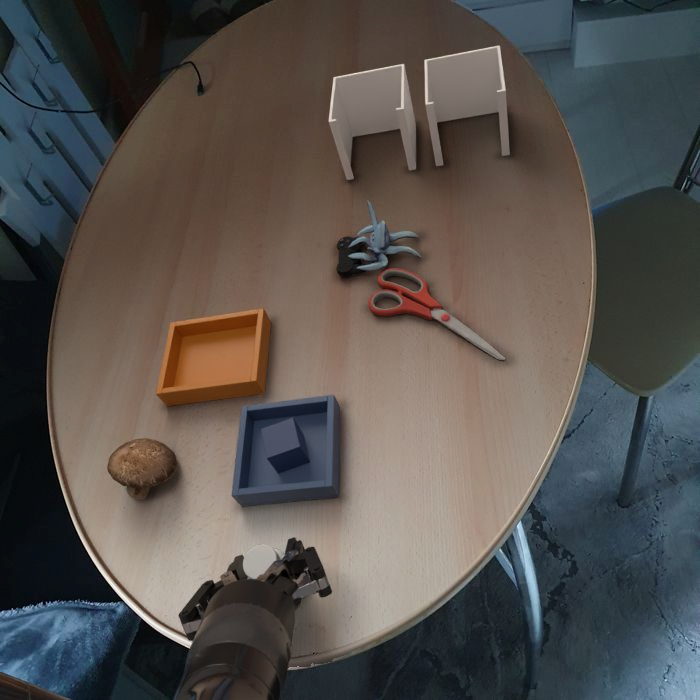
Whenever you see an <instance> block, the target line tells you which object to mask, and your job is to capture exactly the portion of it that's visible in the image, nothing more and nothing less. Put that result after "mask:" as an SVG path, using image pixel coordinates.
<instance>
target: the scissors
mask: <svg viewBox="0 0 700 700" xmlns="http://www.w3.org/2000/svg"><path fill="white" fill-rule="evenodd" d="M392 276H394V277H395V276H397V277H402V278H405V279H409V280H411V281H412V282H414V283H416V284H418V285H419V286H420V288H419V290H416V291H413V290H411V289H409V288H407V287H405V286H403V285H401V284H398V283H395V282H392V281H387V280H386V279H388V278H389V277H392ZM377 283H378V285H379V286H380V287H381V288H382V289H380V290H377V291H376V292H374V293H373V294H372V295H371V296H370V298H369V299H368V309H369V311H370V312H371V313H372V314H374V315H375V316H379V317H392V316H397V315H401V314H411V315H414V316H417V317H420V318H423V319H426V320H429V321H433V320H435V321H436V322H438V323H439V324H441V325H443V326H444V327H446V328H447V329H448V330H450V331H451V332H453V333H455V334H456V335H458V336H459V337H461V338H462V339H464V340H465V341H467V342H469V343H470V344H472V345H473V346H475V347H476V348H479V350H481V351H483V352H484V353H486V354H488V355H489V356H491V357H493V358H494V359H495V360H498V361H506V357H505V356H504V355H502V354H501V353H500V352H499V351H498V350H496V349H495V347H493V346H492V345H491V344H489V342H487V341H486V340H485V339H484V338H482V337H481V336H480V335H478V334H477V333H476V332H475V331H473V330H472V329H471V328H469V327H468V326H467V325H465V324H464V323H462V322H461V321H460V320H459V319H458V318H456V317H455V316H453V315H452V314H451V313H449V312H448V311H446V310H444V309H443V305H441V304H440V303H439V302H438V301H436V300H435V299H434V298H433V297H432V296H431V295H430V292H429V286H428V283H427V282H426V280H425V279H424V278H422V276H420V275H417V274H416V273H414V272H411V271H409V270H406V269H402V268H397V267H396V268H395V267H391V268H387V269H386V268H385V269H383V271H381V272H380V273H379V275H378V277H377ZM383 298H390V299H394V300H396V301H398V302H399V305H396V306H393V307H390V308H380V307H377V306H376V303H377V302H378V301H379V300H380V299H383Z"/></svg>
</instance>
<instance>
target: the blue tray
mask: <svg viewBox="0 0 700 700" xmlns="http://www.w3.org/2000/svg"><path fill="white" fill-rule="evenodd" d="M290 418H294V420H295V421H296V423H297V425H298V426H299V428H300V429H301V431H302V433H303V435H304V439H305V443H306V447H307V451H308V455H309V459H310V462H309V463H306V464H303V465H301V466H298V467H295V468H292V469H289V470H287V471H284V472H281V473H277V471H276V470H275V469H274V468H273V466H272V465H271V464H270V462H269V461H268V460H267V458H266V453H265V448H264V443H263V438H262V433H261V429H262V428H265V427H268V426H271V425H274V424H276V423H279V422H282V421H285V420H288V419H290ZM340 461H341V405H340V403H339V402H338V400H337V398H336V395H335V394H329V395H321V396H320V395H319V396H313V397H304V398H295V399H289V400H280V401H273V402H263V403H257V404H249V405H242V406H241V408H240V417H239V426H238V436H237V443H236V453H235V461H234V469H233V470H234V471H233V478H232V487H231V497H232V499H234V500H235V502H237V504H239V505H240V507H249V506H261V505H270V504H272V505H273V504H280V503H293V502H302V501H303V502H304V501H314V500H323V499H334V498H340V474H341V473H340V463H341V462H340Z"/></svg>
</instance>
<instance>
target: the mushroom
mask: <svg viewBox="0 0 700 700" xmlns="http://www.w3.org/2000/svg"><path fill="white" fill-rule="evenodd" d="M178 467H179V463H178V459H177V455H176V453H175V451H173V450H172V449H171V448H170V447H169V446H168V445H166V444H165V443H163V442H161V441H159V440H156V439H153V438H152V439H151V438H136V439H133V440H130V441H126V442H125V443H123V444H121V445H119V446H118V447H117V448H116V449H115V450H113V452H112V453H111V454H110V456H109V457H108V461H107V466H106V469H107V472H108V474H109V475H110V477H111V478H112V480H113V481H115V482H116V483H118V484H120V485H121V486H122V487H126V490H127V494H129V496H130V497H131V498H134V499H137V500H142V499H145V498H147V496H148V495H149V493H150V489H151V488H152V487H155V486H158V485H162V484H164V483H165V482H166V481H168V480H170V479H171V478H172V477H173V476H174V474H175V472H177V470H178Z"/></svg>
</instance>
